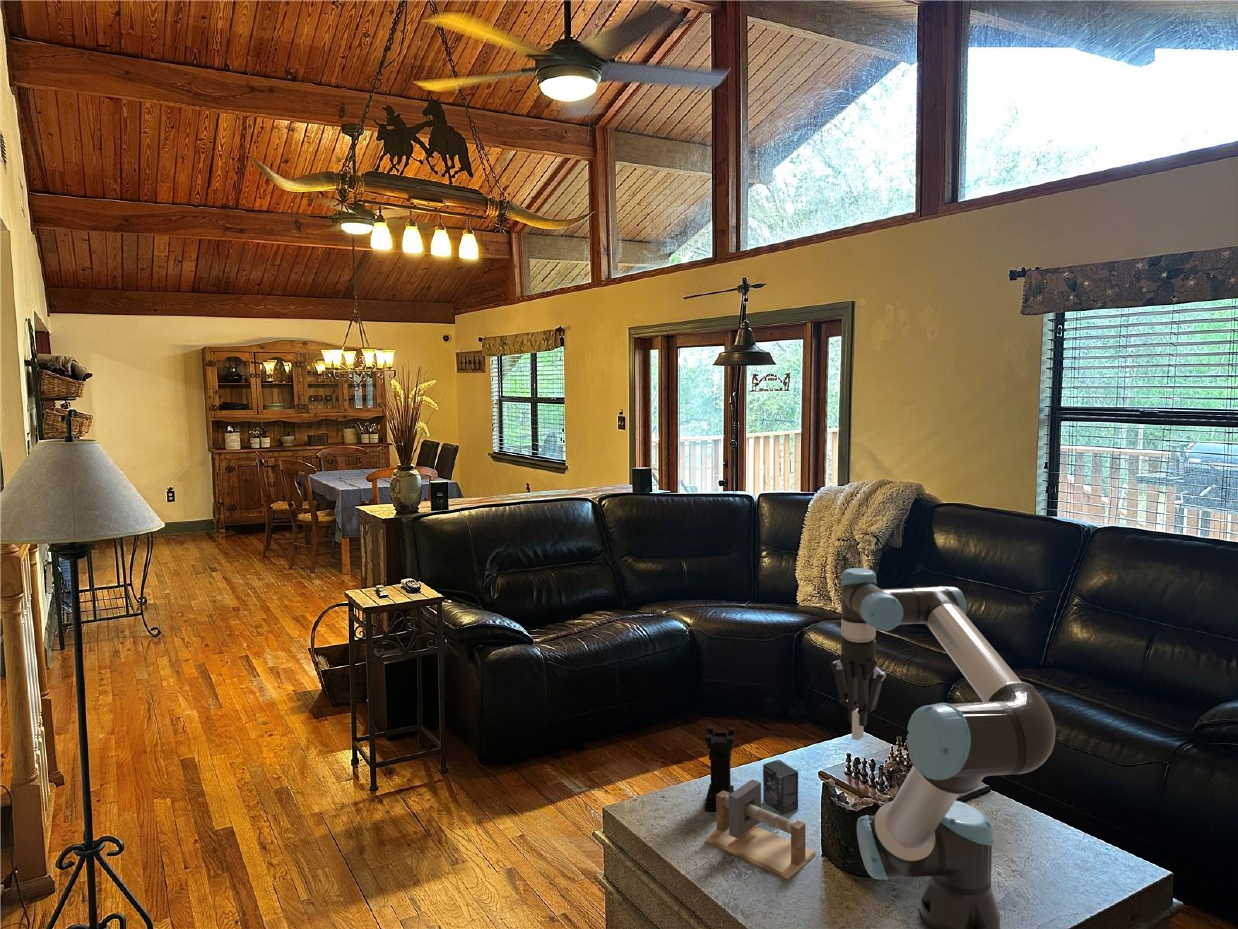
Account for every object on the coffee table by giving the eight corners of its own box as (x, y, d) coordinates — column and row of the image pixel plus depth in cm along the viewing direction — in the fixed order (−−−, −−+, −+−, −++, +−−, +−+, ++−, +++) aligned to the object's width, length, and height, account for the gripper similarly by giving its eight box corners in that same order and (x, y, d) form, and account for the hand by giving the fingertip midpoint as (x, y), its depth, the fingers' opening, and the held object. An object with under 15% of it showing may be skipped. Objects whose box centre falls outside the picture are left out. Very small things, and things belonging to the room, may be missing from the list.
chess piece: (735, 814, 204) (734, 740, 202) (704, 811, 205) (703, 738, 203) (737, 798, 211) (736, 726, 210) (707, 796, 213) (706, 725, 211)
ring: (761, 821, 194) (761, 782, 193) (737, 839, 186) (737, 798, 185) (752, 818, 195) (752, 779, 194) (729, 835, 188) (728, 795, 187)
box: (762, 802, 209) (762, 763, 208) (779, 796, 212) (779, 758, 211) (781, 815, 203) (781, 776, 202) (799, 810, 205) (798, 771, 204)
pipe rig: (815, 855, 185) (815, 814, 184) (788, 879, 176) (788, 836, 175) (734, 820, 201) (733, 782, 200) (705, 841, 192) (705, 801, 191)
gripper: (893, 639, 176) (892, 740, 179) (839, 628, 185) (839, 724, 187) (878, 647, 171) (877, 751, 173) (824, 635, 180) (823, 735, 182)
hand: (857, 737), depth 180 cm, fingers closed
